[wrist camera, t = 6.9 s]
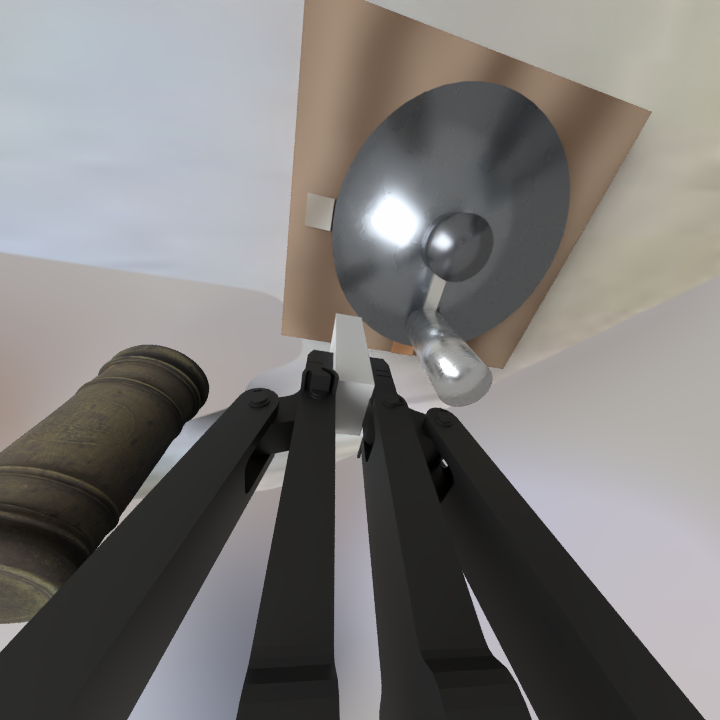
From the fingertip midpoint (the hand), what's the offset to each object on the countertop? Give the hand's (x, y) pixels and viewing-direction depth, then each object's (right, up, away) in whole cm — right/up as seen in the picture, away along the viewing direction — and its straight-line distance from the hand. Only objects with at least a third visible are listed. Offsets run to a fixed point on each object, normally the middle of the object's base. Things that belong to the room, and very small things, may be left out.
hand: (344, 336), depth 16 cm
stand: (+7, +9, +7) cm, 13 cm away
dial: (+7, +8, +4) cm, 11 cm away
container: (-20, -3, +12) cm, 24 cm away
